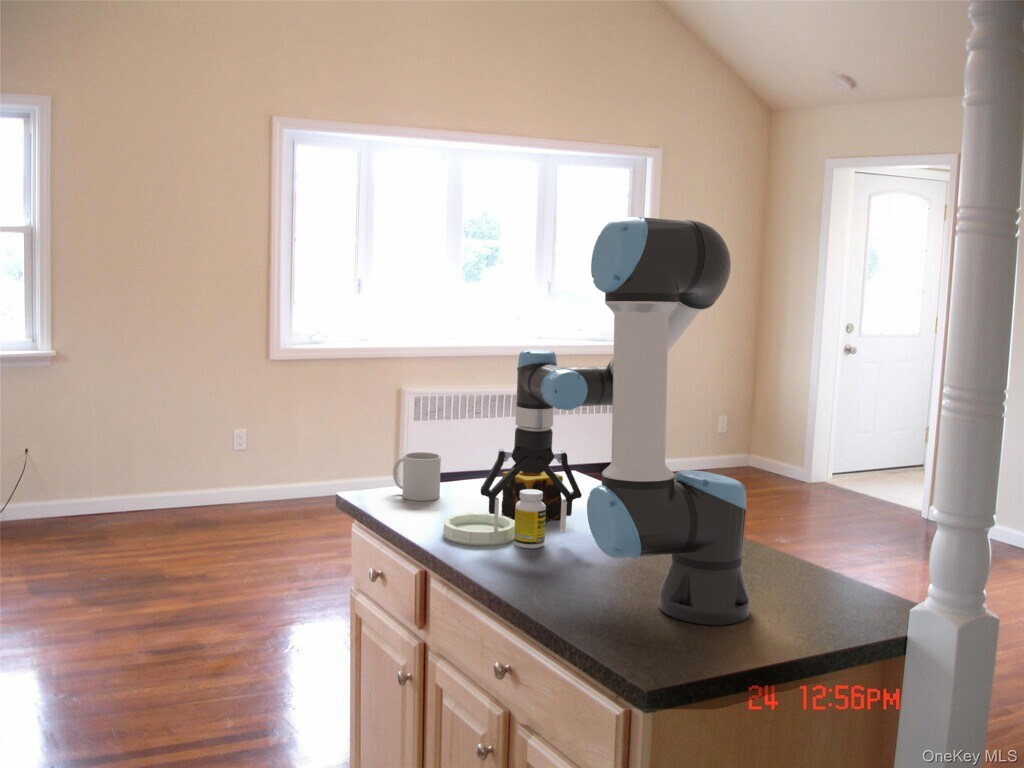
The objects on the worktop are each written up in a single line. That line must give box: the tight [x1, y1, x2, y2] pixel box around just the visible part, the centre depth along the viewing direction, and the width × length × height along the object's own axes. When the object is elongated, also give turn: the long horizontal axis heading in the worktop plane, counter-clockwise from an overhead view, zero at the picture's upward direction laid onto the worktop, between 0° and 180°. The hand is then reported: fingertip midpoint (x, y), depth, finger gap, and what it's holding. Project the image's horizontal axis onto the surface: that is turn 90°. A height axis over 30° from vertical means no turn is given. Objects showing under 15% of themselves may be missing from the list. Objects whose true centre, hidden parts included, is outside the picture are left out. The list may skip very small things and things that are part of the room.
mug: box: [392, 451, 442, 502], centre depth 240 cm, size 11×10×10 cm
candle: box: [501, 470, 564, 522], centre depth 225 cm, size 10×10×10 cm
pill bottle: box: [513, 489, 546, 550], centre depth 203 cm, size 6×6×11 cm
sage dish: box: [442, 512, 515, 547], centre depth 209 cm, size 15×15×3 cm
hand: (529, 530), depth 204 cm, fingers open, 13 cm apart
